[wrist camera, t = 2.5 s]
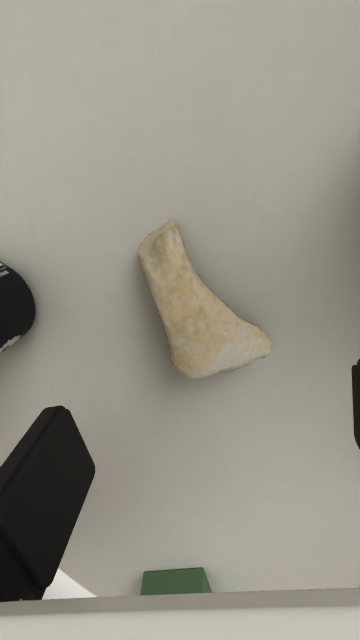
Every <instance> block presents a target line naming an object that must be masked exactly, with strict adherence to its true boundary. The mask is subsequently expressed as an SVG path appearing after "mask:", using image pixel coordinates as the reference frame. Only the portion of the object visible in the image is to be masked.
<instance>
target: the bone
mask: <svg viewBox="0 0 360 640" xmlns="http://www.w3.org/2000/svg"><path fill="white" fill-rule="evenodd" d="M137 255H138V258H139V261H140V263H141V266H142V269H143V272H144V274H145V277H146V279H147V282H148V285H149V288H150V290H151V293H152V295H153V298H154V301H155V304H156V306H157V308H158V311H159V315H160V317H161V320H162V322H163V324H164V327H165V330H166V334H167V337H168V341H169V346H170V354H171V358H172V362H173V364H174V366H175V368H176V370H177V371H179V372H180V373H181V374H183V375H184V376H185V377H187V378H190V379H202V378H205V377H209V376H212V375H214V374H215V373H217V372H220V371H230V370H234V369H237V368H240V367H243V366H246V365H247V364H249V363H251V362H252V361H254V360H256V359H259V358H263V357H266V356H267V355H268V354H269V352H270V349H271V340H270V339H269V337H268V335H267V334H266V333H265V332H264V331H263V330H262V329H259V328H257V327H256V326H254V325H252V324H250V323H247V322H246V321H244V320H242V319H241V318H239V317H238V316H237V315H235V314H234V312H233V311H232V310H231V309H230V308H229V307H228V306H226V305H225V304H224V303H223V302H222V301H221V300H220V299H219V298H218V297H216V296H215V295H214V294H213V293H212V292H211V290H210V289H209V288H208V287H207V286H206V285H205V284H204V283H203V281H202V280H201V278H200V277H199V275H198V274H197V272H196V271H195V269H194V267H193V266H192V264H191V262H190V260H189V258H188V256H187V253H186V251H185V247H184V244H183V242H182V240H181V237H180V234H179V231H178V228H177V225H176V224H175V223H174V221H173V220H172V219H170V220H169V222H168V223H167V224H166V225H164V226H163V227H162V228H160V229H159V230H157V231H155V232H153V233H150V234H149V235H148V236H147V237H145V240H144V241H143V242H142V243H141V245H140V247H139V249H138V251H137Z"/></svg>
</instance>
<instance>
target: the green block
mask: <svg viewBox="0 0 360 640" xmlns="http://www.w3.org/2000/svg"><path fill="white" fill-rule="evenodd" d="M193 593H212V592H211V589H210V586H209V583H208V580H207V578H206V575H205V572H204V569H203V568H194V569H180V570H166V571H152V572H144V576H143V583H142V589H141V595H167V594H193Z"/></svg>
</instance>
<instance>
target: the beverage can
mask: <svg viewBox="0 0 360 640" xmlns="http://www.w3.org/2000/svg"><path fill="white" fill-rule="evenodd" d="M34 317H35V303H34V299H33V296H32V293H31V291H30V289H29V287H28V286H27V284H26V283H25V281H24V280H23V279H22V278H21V276H20V275H19V274H18V273H17V272H15V271H14V270H13V269H12V268H10V267H9V266H7V265H5V264H3V263H1V262H0V354H1V353H2V352H4V351H5V350H6V349H7V348H8V347H10V346H11V345H12V344H13V343H15V342H16V341H17V340H18V339H20V338H21V337H22V336H23V335H25V334H26V333H27V332H28V330H29V329H30V328H31V326H32V324H33V321H34Z"/></svg>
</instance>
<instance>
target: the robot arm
mask: <svg viewBox="0 0 360 640" xmlns="http://www.w3.org/2000/svg"><path fill="white" fill-rule="evenodd" d="M352 390H353V417H354V436H355V440H356V443H357V445H358V447H359V449H360V359H359V360H358V362H357V365H353V366H352ZM94 475H95V465H94V462H93V460H92V458H91V456H90V454H89V452H88V449H87V447H86V445H85V443H84V441H83V439H82V436H81V434H80V432H79V430H78V428H77V426H76V424H75V421H74V419H73V417H72V415H71V413H70V411H69V410H68V409H65V407H63V406H55V407H48V408H45V409H44V410H43V411H42V412H41V413H40V415H39V416H38V417H37V419H36V420H35V421H34V423H33V424H32V425H31V427H30V428H29V429H28V431H27V432H26V434H25V435H24V436H23V438H22V439H21V440H20V442H19V443H18V444H17V446H16V447H15V448H14V450H13V451H12V452H11V454H10V455H9V456H8V458H7V459H6V461H5V462H4V463H3V465H2V466H1V467H0V640H360V588H339V589H308V590H278V591H247V592H219V593H193V594H167V595H141V596H116V597H94V598H74V599H73V598H72V599H50V600H42V597H43V595H44V592H45V590H46V587H48V586H50V584H51V583H52V581H53V579H54V576H55V574H56V572H57V569H58V567H59V564H60V562H61V559H62V556H63V554H64V551H65V549H66V546H67V544H68V541H69V539H70V536H71V534H72V531H73V528H74V526H75V523H76V521H77V518H78V516H79V513H80V511H81V508H82V506H83V503H84V501H85V498H86V495H87V493H88V490H89V488H90V485H91V483H92V480H93V478H94ZM20 599H21V600H22V601H20Z"/></svg>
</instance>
